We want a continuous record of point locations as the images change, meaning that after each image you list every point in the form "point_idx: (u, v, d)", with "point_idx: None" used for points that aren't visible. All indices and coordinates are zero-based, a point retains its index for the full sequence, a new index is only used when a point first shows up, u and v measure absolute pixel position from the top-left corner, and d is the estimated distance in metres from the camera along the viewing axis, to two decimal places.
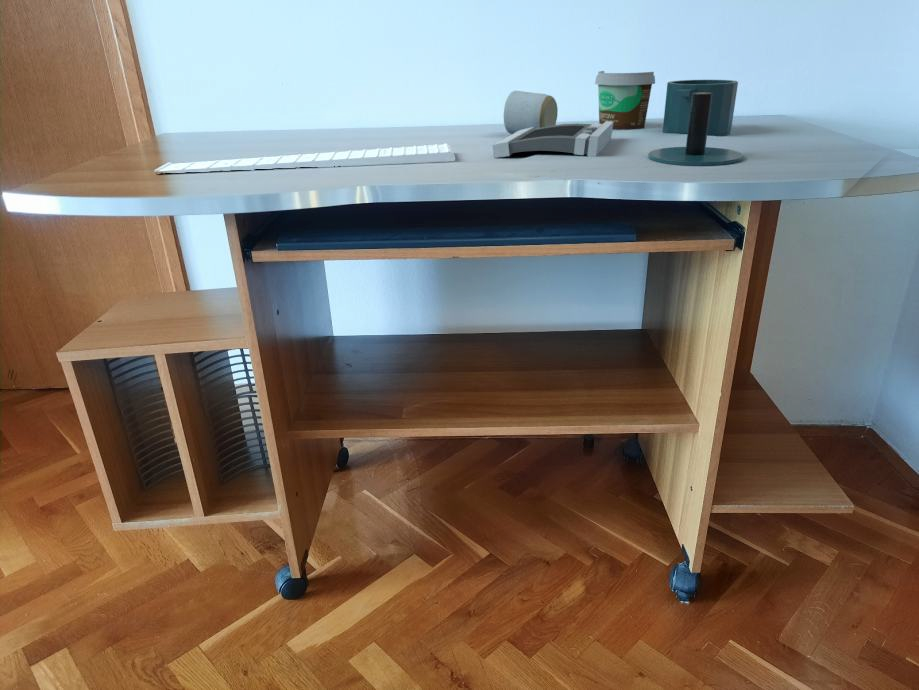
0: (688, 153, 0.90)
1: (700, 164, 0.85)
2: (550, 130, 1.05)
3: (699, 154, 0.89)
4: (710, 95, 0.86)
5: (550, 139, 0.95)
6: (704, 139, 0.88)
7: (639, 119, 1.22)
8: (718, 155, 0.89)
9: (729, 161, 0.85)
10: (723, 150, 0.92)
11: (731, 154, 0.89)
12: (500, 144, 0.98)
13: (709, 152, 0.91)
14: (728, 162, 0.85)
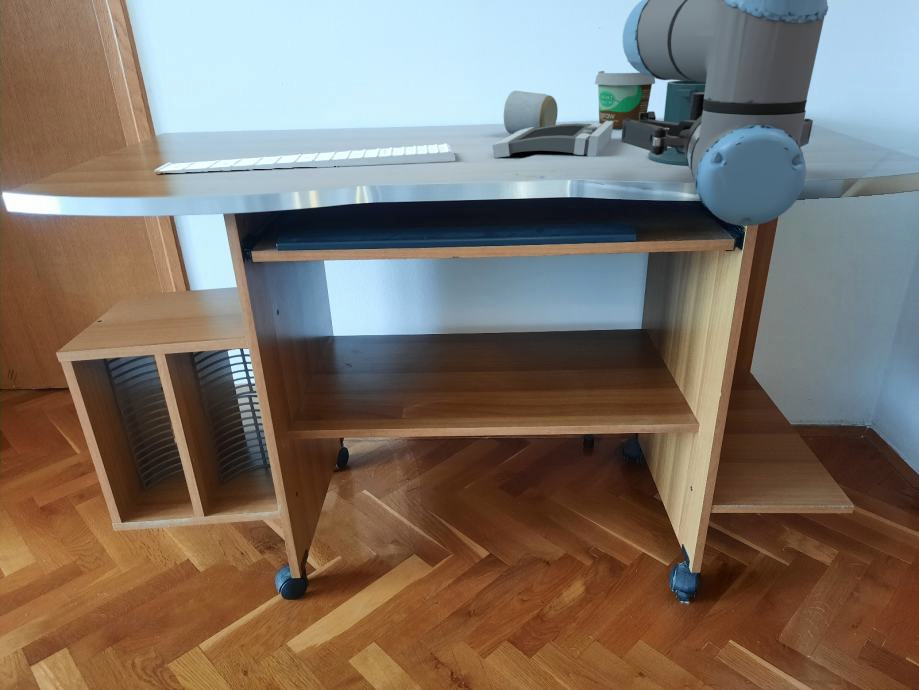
0: None
1: None
2: (550, 130, 1.05)
3: None
4: None
5: (550, 139, 0.95)
6: None
7: None
8: None
9: None
10: None
11: None
12: (500, 144, 0.98)
13: None
14: None
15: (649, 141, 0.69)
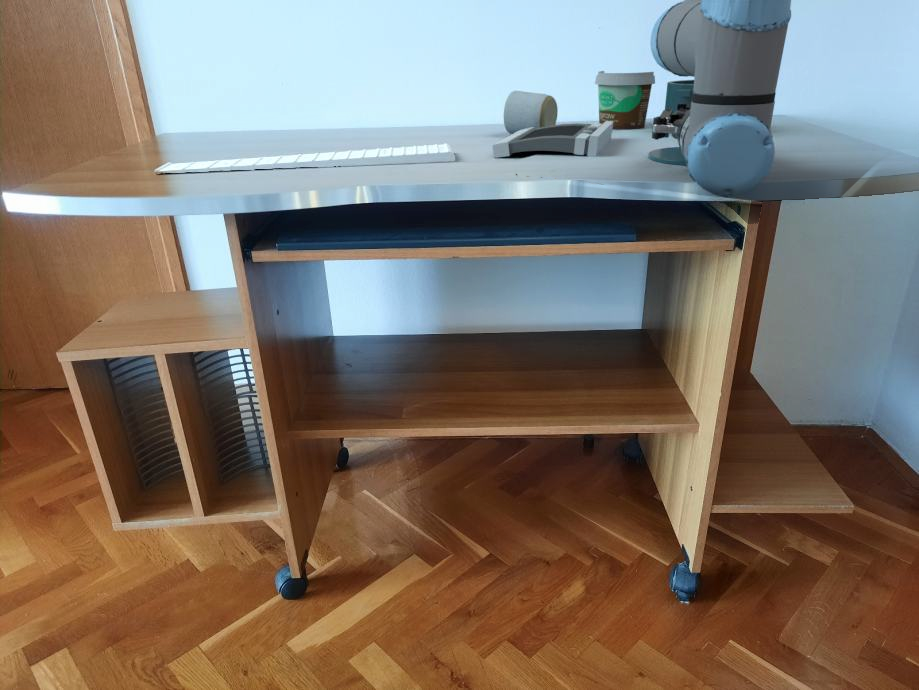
0: None
1: None
2: (550, 130, 1.05)
3: None
4: None
5: (550, 139, 0.95)
6: None
7: (639, 119, 1.22)
8: None
9: None
10: None
11: None
12: (500, 144, 0.98)
13: None
14: None
15: None
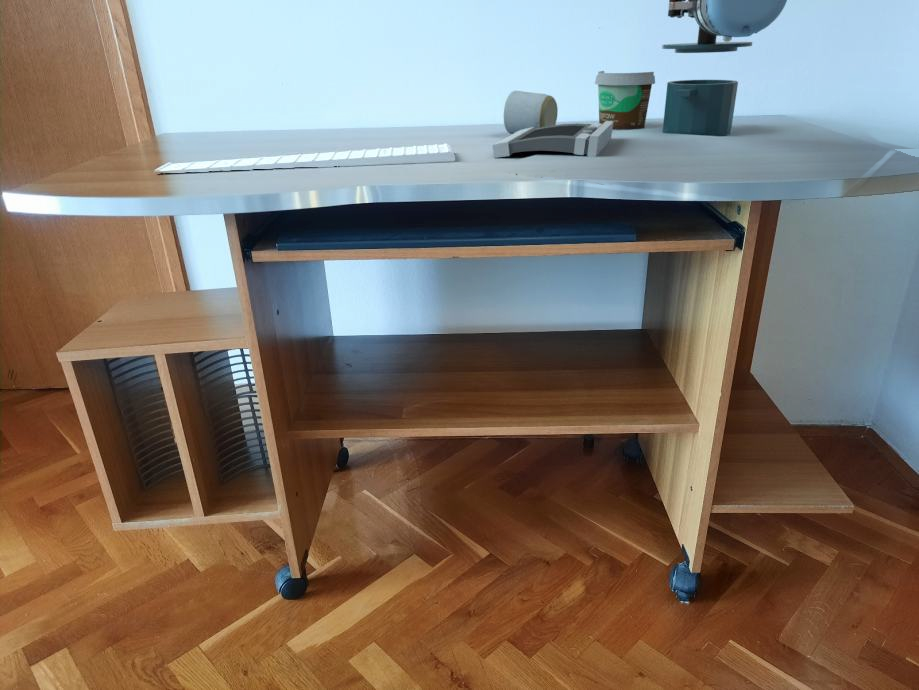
0: (700, 42, 0.94)
1: (712, 46, 0.90)
2: (550, 130, 1.05)
3: (711, 42, 0.94)
4: None
5: (550, 139, 0.95)
6: None
7: (639, 119, 1.22)
8: None
9: (740, 44, 0.90)
10: None
11: (741, 42, 0.94)
12: (500, 144, 0.98)
13: None
14: (739, 45, 0.90)
15: None
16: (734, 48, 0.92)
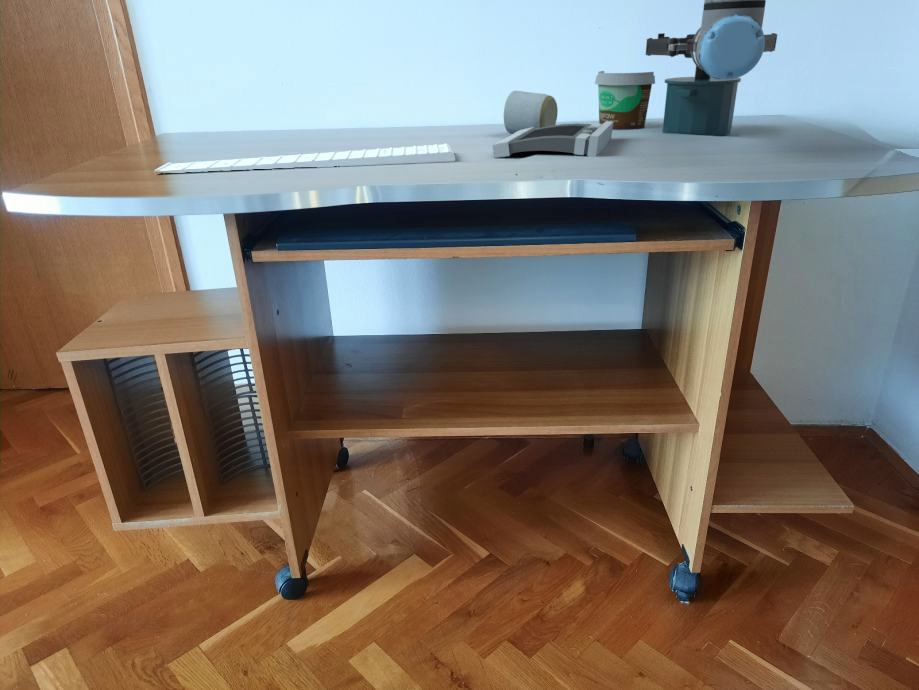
0: (697, 78, 1.11)
1: (707, 83, 1.07)
2: (550, 130, 1.05)
3: (706, 78, 1.11)
4: None
5: (550, 139, 0.95)
6: None
7: (639, 119, 1.22)
8: None
9: (730, 81, 1.07)
10: None
11: None
12: (500, 144, 0.98)
13: (714, 78, 1.13)
14: (729, 82, 1.07)
15: (666, 49, 1.02)
16: None
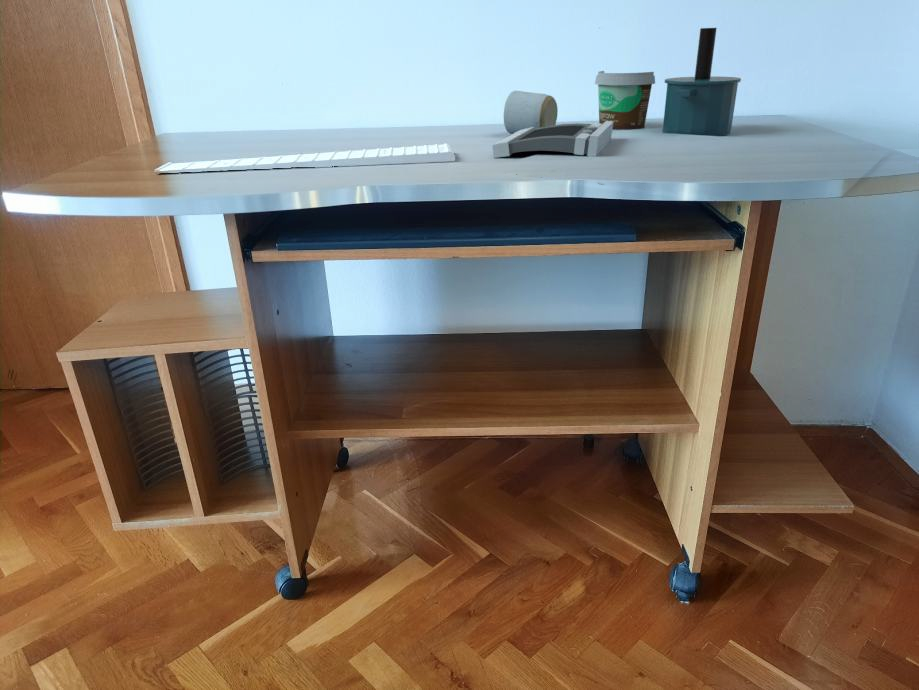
0: (697, 78, 1.11)
1: (707, 83, 1.07)
2: (550, 130, 1.05)
3: (706, 78, 1.11)
4: (715, 29, 1.08)
5: (550, 139, 0.95)
6: (710, 66, 1.10)
7: (639, 119, 1.22)
8: None
9: (730, 81, 1.07)
10: (725, 77, 1.14)
11: (731, 78, 1.11)
12: (500, 144, 0.98)
13: (714, 78, 1.13)
14: (729, 82, 1.07)
15: None
16: None
